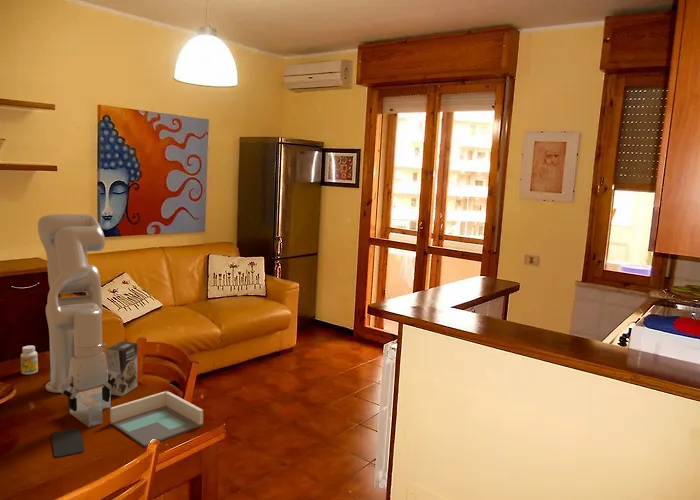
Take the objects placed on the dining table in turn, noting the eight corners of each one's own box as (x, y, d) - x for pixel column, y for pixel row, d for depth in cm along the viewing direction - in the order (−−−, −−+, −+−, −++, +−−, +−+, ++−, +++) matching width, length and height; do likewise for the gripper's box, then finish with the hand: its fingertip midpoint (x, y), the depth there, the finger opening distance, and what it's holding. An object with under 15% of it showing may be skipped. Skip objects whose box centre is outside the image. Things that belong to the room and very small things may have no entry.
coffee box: (122, 396, 182) (122, 350, 180) (105, 394, 184) (105, 348, 181) (138, 386, 191) (138, 342, 189) (122, 384, 192) (121, 340, 190)
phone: (53, 457, 142) (50, 432, 155) (54, 460, 142) (50, 435, 155) (85, 451, 146) (79, 427, 159) (85, 453, 146) (79, 429, 159)
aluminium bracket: (69, 413, 168) (69, 395, 168) (104, 403, 177) (104, 385, 176) (88, 427, 160) (88, 408, 159) (124, 415, 169) (124, 397, 168)
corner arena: (110, 423, 163) (110, 407, 162) (167, 405, 178) (167, 390, 177) (144, 447, 150) (144, 430, 150) (202, 425, 165) (203, 409, 164)
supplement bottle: (41, 371, 201) (40, 346, 199) (28, 375, 196) (27, 350, 195) (31, 368, 203) (30, 343, 201) (17, 373, 198) (16, 347, 197)
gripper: (110, 341, 170) (112, 394, 172) (52, 353, 157) (54, 410, 159) (122, 346, 165) (123, 400, 167) (63, 359, 152) (65, 417, 154)
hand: (89, 405), depth 163 cm, fingers open, 9 cm apart
